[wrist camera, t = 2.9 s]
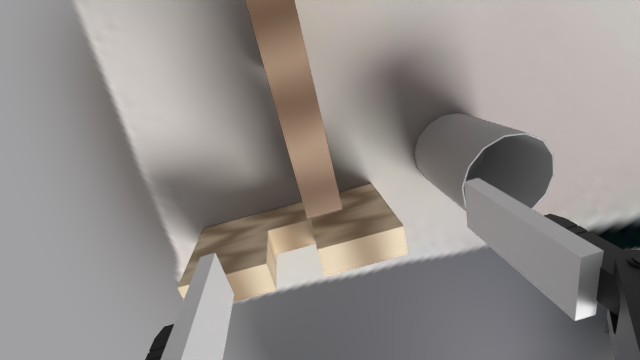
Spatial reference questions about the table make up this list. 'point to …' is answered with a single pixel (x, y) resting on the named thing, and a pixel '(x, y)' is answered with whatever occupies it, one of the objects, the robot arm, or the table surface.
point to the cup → (484, 158)
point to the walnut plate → (295, 102)
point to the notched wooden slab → (301, 241)
